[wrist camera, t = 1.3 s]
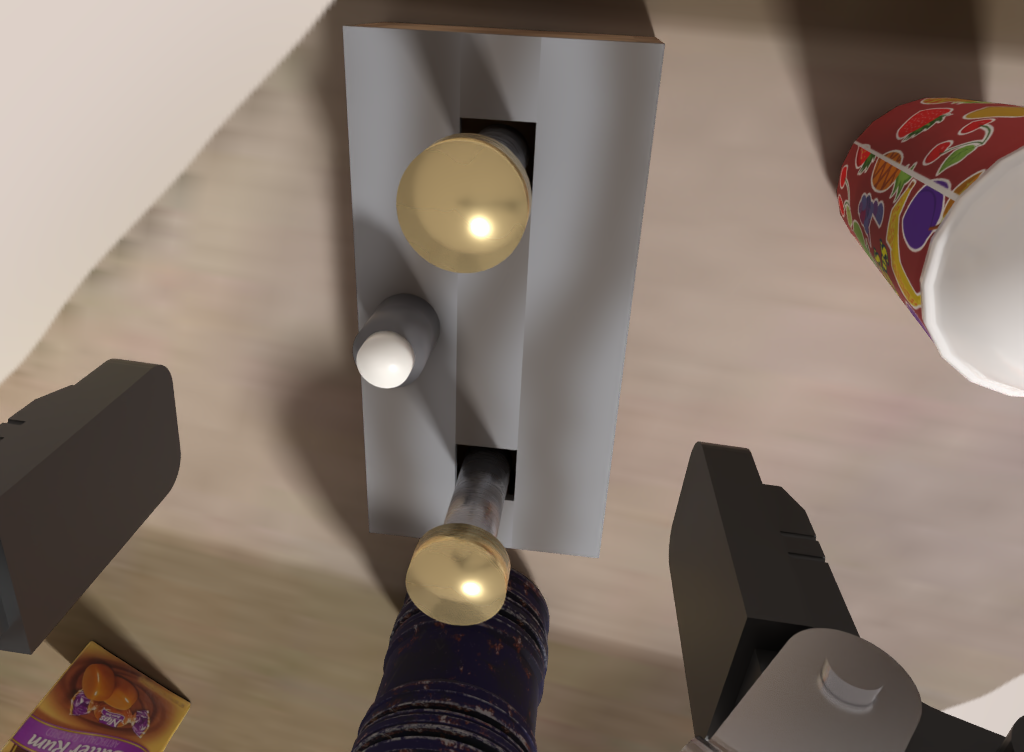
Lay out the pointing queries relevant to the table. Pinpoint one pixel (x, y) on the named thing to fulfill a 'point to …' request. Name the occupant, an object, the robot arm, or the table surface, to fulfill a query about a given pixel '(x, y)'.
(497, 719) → the storage jar
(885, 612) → the table surface
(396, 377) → the cylinder
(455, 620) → the knob
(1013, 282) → the smoothie
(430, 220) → the knob
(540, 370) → the mount
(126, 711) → the candy box
